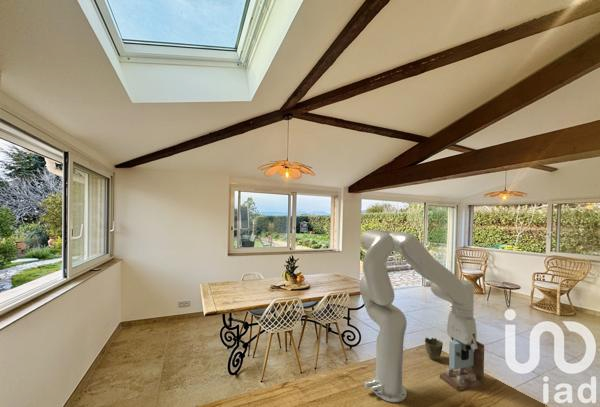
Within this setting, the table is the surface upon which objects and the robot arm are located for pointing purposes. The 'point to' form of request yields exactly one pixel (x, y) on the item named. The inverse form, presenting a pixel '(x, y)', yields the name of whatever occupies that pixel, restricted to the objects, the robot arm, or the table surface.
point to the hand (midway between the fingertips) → (461, 357)
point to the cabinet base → (467, 372)
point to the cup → (433, 348)
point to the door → (459, 356)
